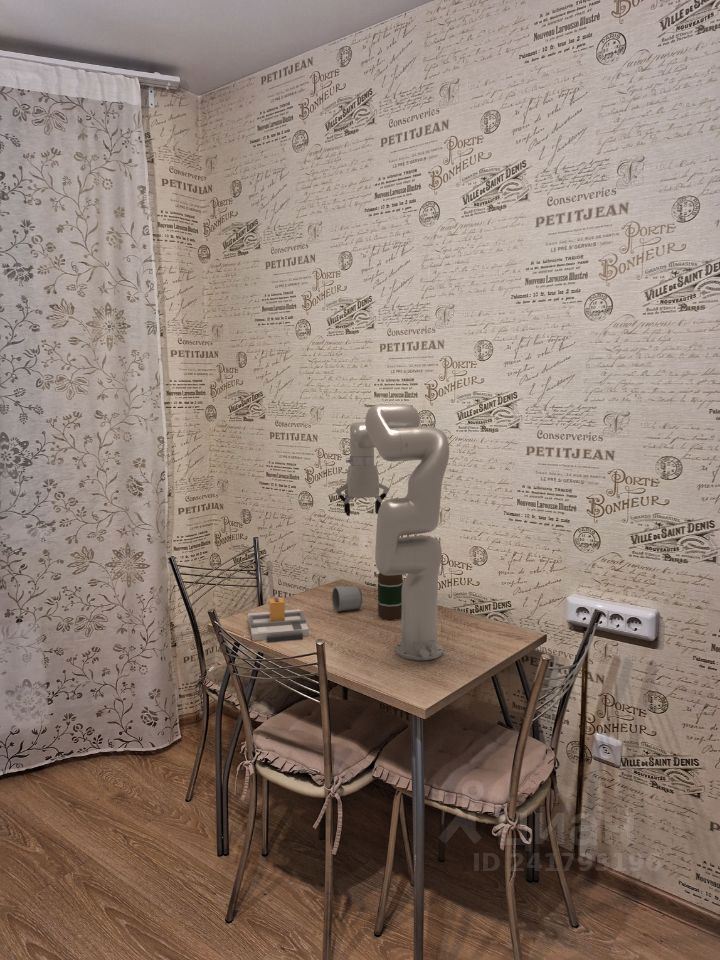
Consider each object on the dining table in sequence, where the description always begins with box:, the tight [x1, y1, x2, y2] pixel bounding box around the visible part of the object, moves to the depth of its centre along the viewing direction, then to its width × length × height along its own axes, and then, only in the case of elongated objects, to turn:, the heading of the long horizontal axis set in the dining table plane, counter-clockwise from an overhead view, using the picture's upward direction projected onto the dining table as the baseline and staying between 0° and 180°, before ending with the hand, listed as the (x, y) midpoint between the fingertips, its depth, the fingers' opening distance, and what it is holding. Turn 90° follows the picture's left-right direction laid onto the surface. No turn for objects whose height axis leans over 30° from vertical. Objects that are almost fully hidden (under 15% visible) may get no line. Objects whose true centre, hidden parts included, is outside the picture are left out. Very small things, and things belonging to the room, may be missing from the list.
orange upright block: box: [268, 597, 285, 622], centre depth 201 cm, size 4×4×6 cm
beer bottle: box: [377, 571, 404, 621], centre depth 209 cm, size 8×8×24 cm
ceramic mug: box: [331, 585, 363, 613], centre depth 219 cm, size 11×8×8 cm
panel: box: [247, 608, 310, 642], centre depth 202 cm, size 18×16×3 cm
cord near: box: [266, 633, 304, 643], centre depth 192 cm, size 1×10×1 cm, turn 103°
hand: (362, 514), depth 219 cm, fingers open, 9 cm apart
